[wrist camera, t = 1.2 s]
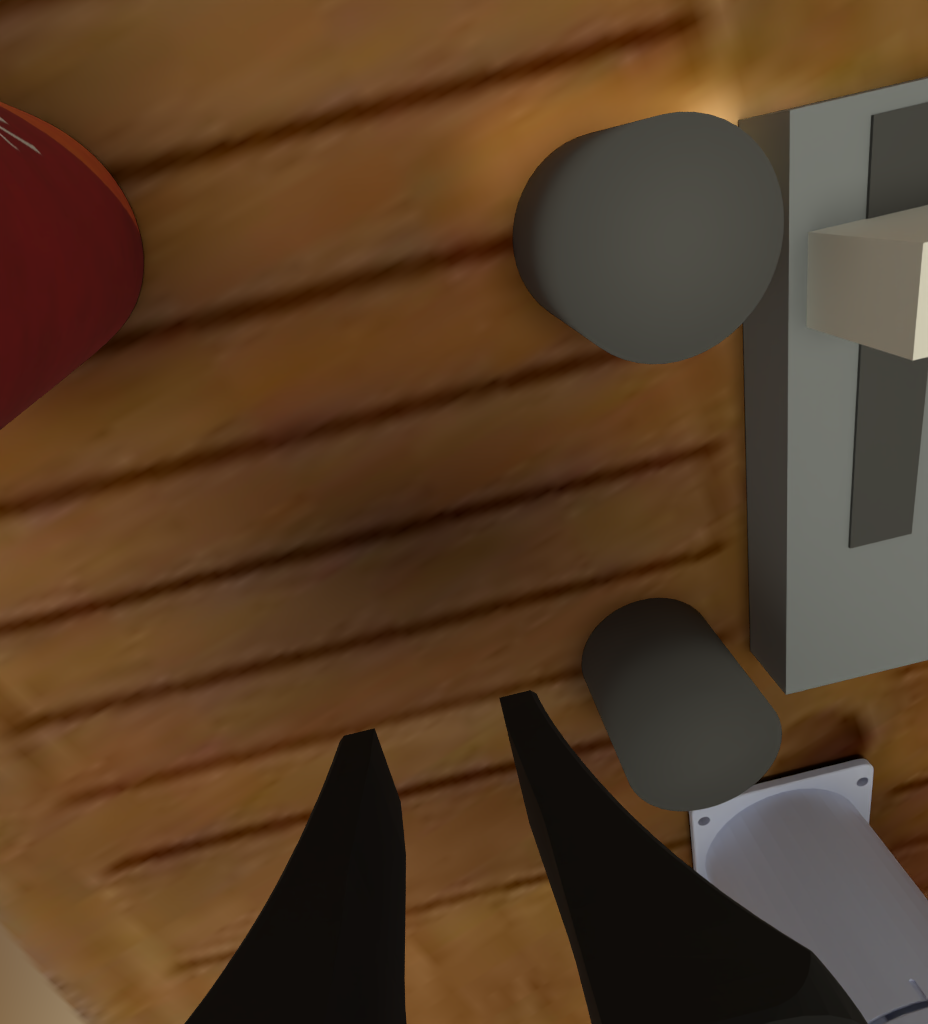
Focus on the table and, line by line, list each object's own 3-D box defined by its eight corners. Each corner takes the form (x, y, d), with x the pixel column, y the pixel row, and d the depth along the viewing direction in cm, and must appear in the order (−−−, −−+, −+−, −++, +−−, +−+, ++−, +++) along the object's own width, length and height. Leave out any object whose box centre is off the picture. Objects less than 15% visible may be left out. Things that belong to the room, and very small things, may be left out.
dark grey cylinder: (713, 689, 27) (781, 789, 22) (590, 719, 27) (633, 826, 22) (707, 583, 24) (782, 671, 20) (573, 616, 24) (617, 711, 20)
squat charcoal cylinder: (692, 303, 20) (783, 336, 16) (528, 342, 20) (572, 386, 16) (682, 112, 18) (784, 86, 13) (497, 154, 18) (539, 142, 13)
